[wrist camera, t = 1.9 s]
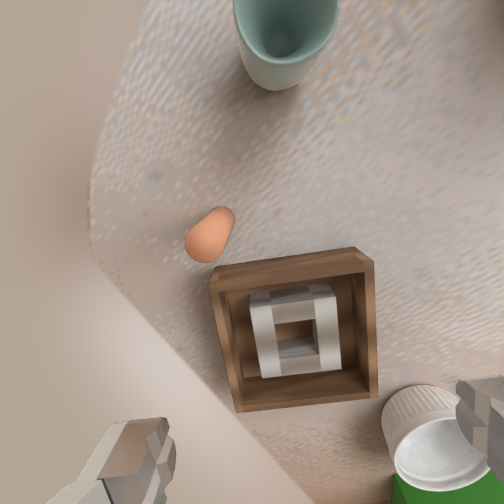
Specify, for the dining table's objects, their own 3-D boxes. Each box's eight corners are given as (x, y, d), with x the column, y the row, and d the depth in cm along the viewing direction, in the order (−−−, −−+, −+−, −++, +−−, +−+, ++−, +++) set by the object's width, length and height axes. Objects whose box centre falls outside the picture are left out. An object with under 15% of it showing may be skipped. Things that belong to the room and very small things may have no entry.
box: (215, 266, 36) (207, 285, 30) (354, 246, 35) (373, 261, 29) (239, 378, 41) (236, 413, 35) (360, 364, 40) (378, 397, 34)
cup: (320, 86, 30) (351, 45, 20) (252, 109, 30) (250, 81, 21) (303, 2, 27) (329, -88, 18) (230, 29, 28) (216, -43, 19)
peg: (206, 208, 34) (180, 228, 22) (232, 204, 33) (219, 222, 22) (211, 233, 34) (189, 265, 23) (236, 230, 34) (226, 259, 23)
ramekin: (370, 445, 44) (390, 494, 37) (375, 378, 40) (398, 419, 34) (454, 442, 44) (489, 491, 37) (466, 374, 40) (508, 415, 33)
